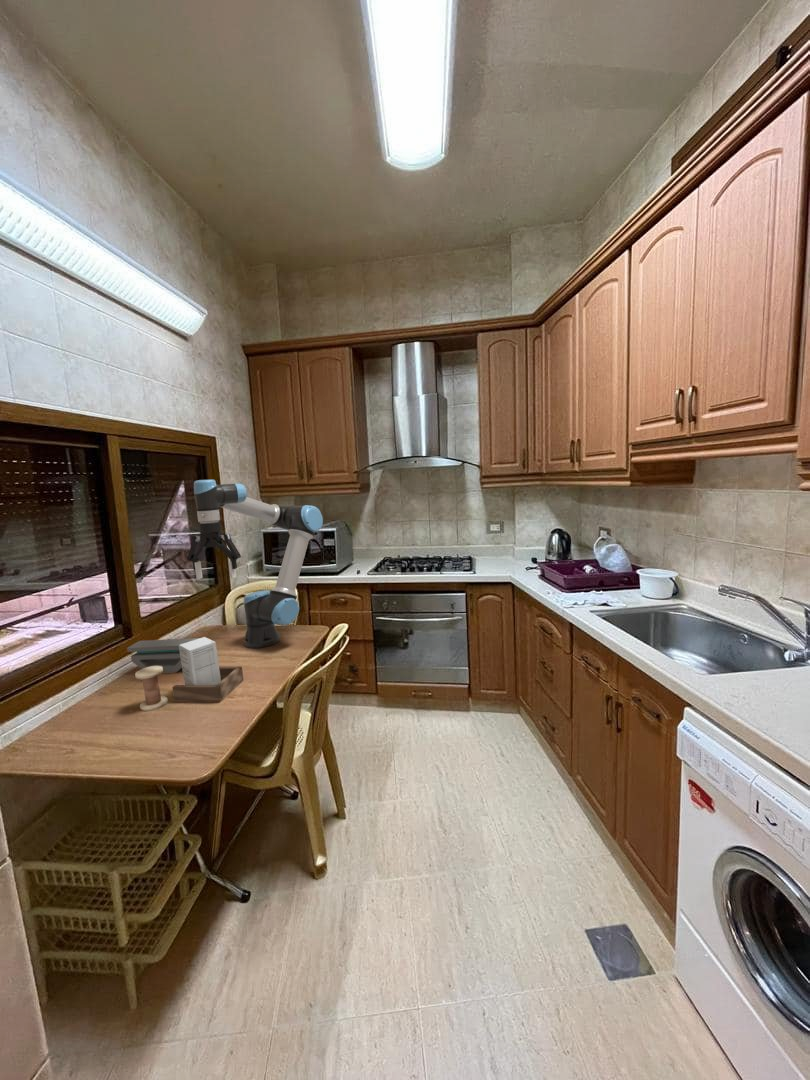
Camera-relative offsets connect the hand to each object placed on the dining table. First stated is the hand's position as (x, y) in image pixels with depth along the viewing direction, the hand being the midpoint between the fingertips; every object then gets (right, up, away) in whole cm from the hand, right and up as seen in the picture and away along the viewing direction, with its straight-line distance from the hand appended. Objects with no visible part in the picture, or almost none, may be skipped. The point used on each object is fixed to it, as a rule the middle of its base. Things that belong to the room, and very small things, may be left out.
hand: (216, 578), depth 169 cm
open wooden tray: (+2, -39, -11) cm, 40 cm away
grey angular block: (-24, -37, +11) cm, 46 cm away
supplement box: (0, -38, -11) cm, 40 cm away
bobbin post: (-13, -41, -19) cm, 47 cm away
